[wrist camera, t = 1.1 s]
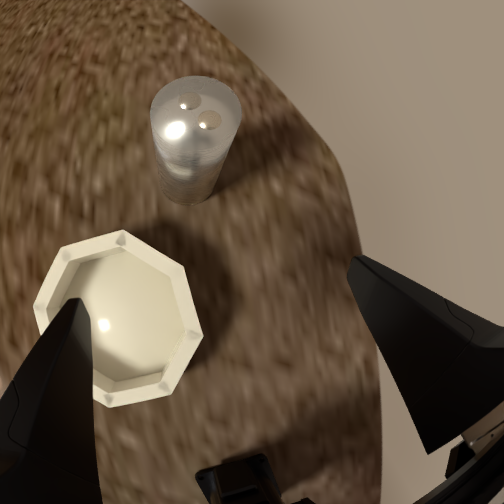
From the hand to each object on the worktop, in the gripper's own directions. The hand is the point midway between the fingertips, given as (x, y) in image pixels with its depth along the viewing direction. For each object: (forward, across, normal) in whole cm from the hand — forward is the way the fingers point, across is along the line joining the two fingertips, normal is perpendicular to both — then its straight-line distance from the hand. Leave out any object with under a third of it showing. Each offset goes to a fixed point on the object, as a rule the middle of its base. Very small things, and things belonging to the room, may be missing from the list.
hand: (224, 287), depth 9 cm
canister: (+15, 0, +3) cm, 16 cm away
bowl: (+9, +6, +10) cm, 15 cm away
